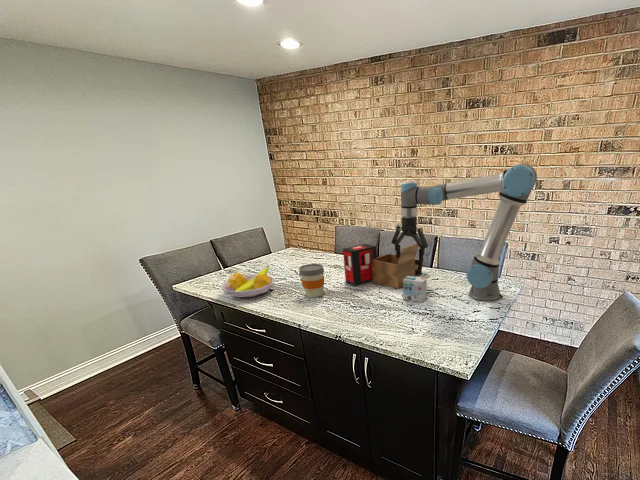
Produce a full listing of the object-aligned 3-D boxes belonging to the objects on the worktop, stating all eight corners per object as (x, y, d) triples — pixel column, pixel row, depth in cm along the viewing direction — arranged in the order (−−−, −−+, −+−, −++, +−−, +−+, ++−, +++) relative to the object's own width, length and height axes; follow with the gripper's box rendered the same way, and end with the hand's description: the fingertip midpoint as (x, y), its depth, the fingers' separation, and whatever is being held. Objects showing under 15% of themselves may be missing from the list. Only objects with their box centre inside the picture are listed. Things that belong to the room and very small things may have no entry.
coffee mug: (425, 272, 209) (425, 257, 206) (418, 276, 203) (418, 260, 199) (409, 269, 215) (409, 254, 211) (402, 273, 209) (402, 258, 205)
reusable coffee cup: (318, 288, 187) (315, 262, 182) (331, 293, 179) (328, 267, 173) (298, 294, 179) (294, 267, 174) (310, 300, 171) (306, 272, 165)
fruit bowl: (237, 306, 165) (232, 285, 161) (215, 293, 182) (210, 273, 178) (288, 290, 184) (285, 271, 180) (264, 280, 201) (261, 262, 197)
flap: (414, 257, 191) (415, 257, 191) (397, 263, 179) (398, 264, 179) (419, 242, 185) (420, 242, 185) (402, 248, 174) (402, 248, 174)
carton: (414, 280, 196) (415, 258, 191) (398, 288, 185) (397, 265, 179) (389, 274, 207) (389, 253, 202) (372, 282, 195) (371, 259, 190)
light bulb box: (402, 299, 170) (402, 279, 166) (407, 294, 176) (407, 275, 172) (422, 302, 167) (422, 282, 162) (426, 297, 172) (427, 277, 168)
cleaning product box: (368, 275, 206) (366, 243, 198) (377, 279, 199) (376, 246, 192) (345, 282, 196) (342, 248, 188) (354, 286, 190) (351, 251, 182)
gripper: (435, 217, 157) (434, 261, 165) (392, 213, 170) (393, 254, 178) (427, 219, 151) (426, 265, 159) (383, 215, 164) (385, 257, 173)
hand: (409, 259), depth 169 cm, fingers open, 13 cm apart
